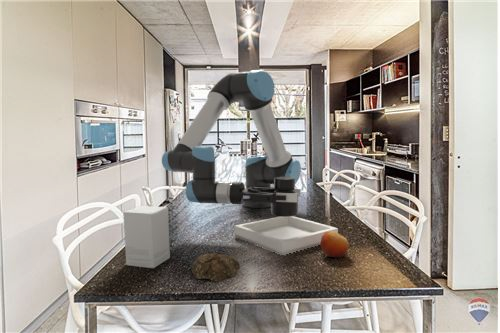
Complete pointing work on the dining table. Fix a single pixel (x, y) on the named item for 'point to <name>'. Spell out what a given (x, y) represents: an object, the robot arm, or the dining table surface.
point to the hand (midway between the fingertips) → (298, 195)
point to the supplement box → (146, 236)
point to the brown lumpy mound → (214, 267)
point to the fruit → (334, 244)
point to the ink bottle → (284, 207)
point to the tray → (283, 234)
